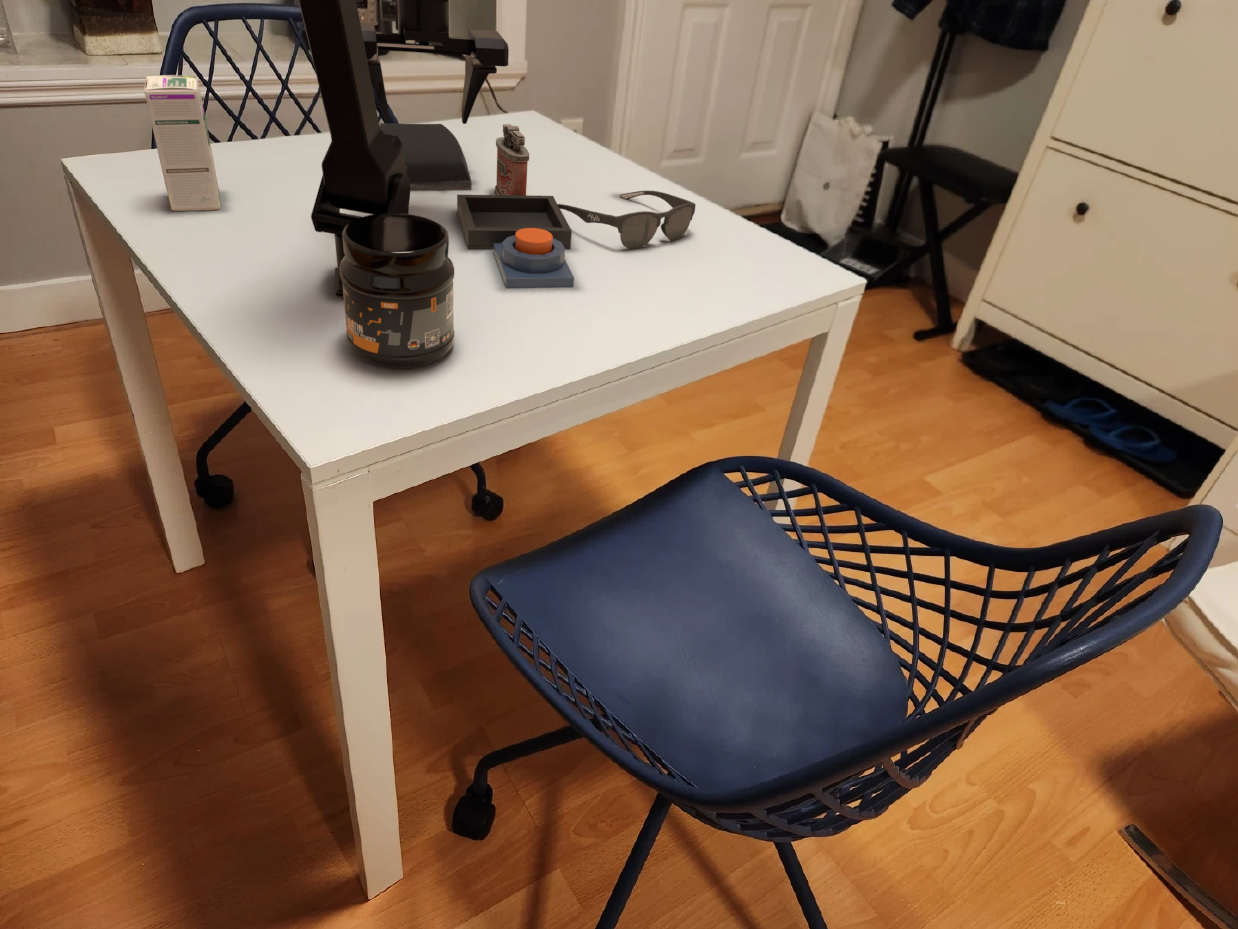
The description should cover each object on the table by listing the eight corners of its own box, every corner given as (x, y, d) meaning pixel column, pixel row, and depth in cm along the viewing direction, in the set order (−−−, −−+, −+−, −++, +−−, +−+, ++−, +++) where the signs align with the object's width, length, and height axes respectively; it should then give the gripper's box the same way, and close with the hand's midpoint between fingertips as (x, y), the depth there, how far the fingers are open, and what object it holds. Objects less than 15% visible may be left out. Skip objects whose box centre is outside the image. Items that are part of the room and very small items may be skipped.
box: (573, 287, 101) (575, 263, 100) (505, 288, 99) (506, 263, 97) (556, 251, 109) (558, 229, 107) (493, 252, 107) (493, 228, 105)
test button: (555, 256, 101) (556, 242, 100) (518, 256, 100) (518, 242, 99) (548, 241, 105) (548, 227, 104) (512, 241, 104) (512, 227, 103)
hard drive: (383, 191, 119) (381, 161, 116) (366, 145, 133) (365, 118, 131) (477, 189, 123) (477, 161, 121) (451, 145, 137) (451, 119, 135)
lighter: (490, 190, 124) (491, 118, 118) (512, 189, 125) (514, 118, 119) (508, 211, 118) (511, 137, 112) (532, 210, 119) (535, 136, 113)
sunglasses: (614, 256, 109) (617, 217, 107) (537, 223, 120) (537, 186, 117) (705, 237, 119) (710, 201, 116) (626, 208, 129) (628, 173, 127)
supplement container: (331, 331, 87) (320, 217, 80) (429, 313, 92) (426, 204, 85) (369, 382, 80) (360, 262, 73) (472, 360, 86) (473, 246, 79)
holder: (570, 249, 110) (572, 230, 109) (468, 249, 107) (468, 230, 105) (552, 213, 119) (553, 195, 118) (457, 212, 116) (457, 194, 114)
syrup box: (221, 209, 108) (200, 87, 99) (169, 211, 106) (143, 87, 97) (219, 193, 112) (199, 74, 103) (169, 194, 110) (144, 73, 101)
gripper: (494, -30, 104) (491, 106, 113) (331, -44, 98) (342, 100, 107) (511, -14, 95) (506, 131, 104) (334, -28, 90) (346, 126, 99)
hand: (425, 121), depth 104 cm, fingers open, 9 cm apart
